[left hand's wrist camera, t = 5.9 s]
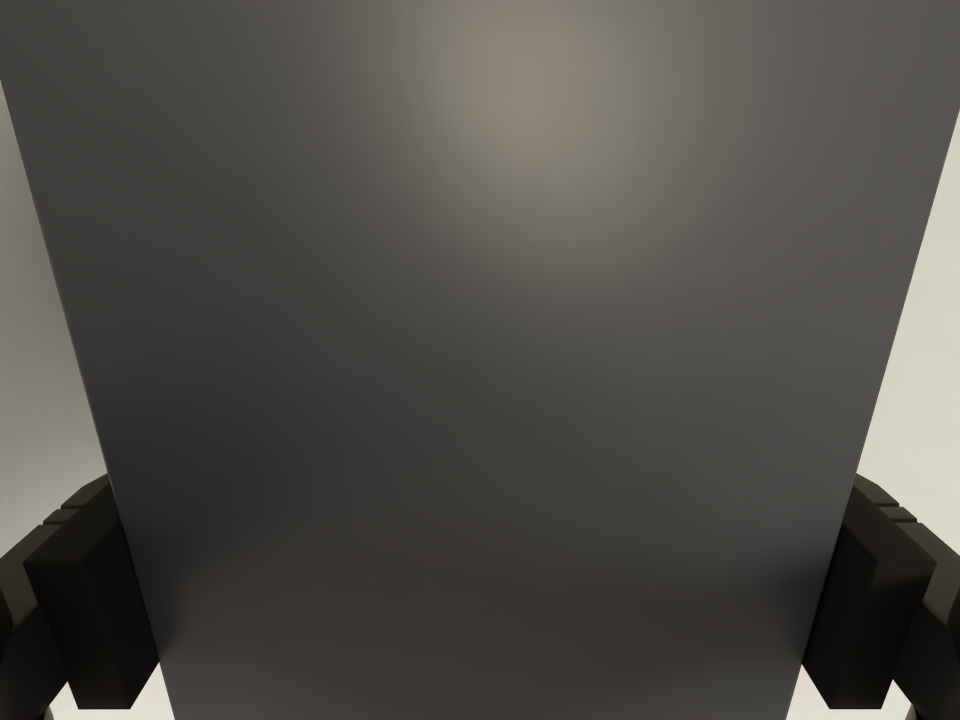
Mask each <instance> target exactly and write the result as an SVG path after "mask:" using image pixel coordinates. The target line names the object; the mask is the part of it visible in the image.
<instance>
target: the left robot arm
mask: <svg viewBox="0 0 960 720" xmlns="http://www.w3.org/2000/svg"><path fill="white" fill-rule="evenodd" d="M158 663H159V659H158V655H157V652H156V648H155V644H154V641H153V637H152V633H151V630H150V626H149V622H148V619H147V615H146V611H145V608H144V604H143V600H142V597H141V593H140V589H139V586H138V582H137V578H136V575H135V571H134V567H133V564H132V560H131V556H130V553H129V549H128V545H127V542H126V538H125V534H124V531H123V527H122V523H121V520H120V516H119V512H118V509H117V505H116V501H115V498H114V494H113V490H112V487H111V483H110V479H109V476H108V473H107V474H105V475H103V476H101V477H100V478H98V479H96V480H94V481H92V482H90V483H89V484H87V485H85V486H83V487H82V488H80V489H79V490H78V491H77V492H76V493H75V494H74V495H72V496H71V497H70V498H69V499H68V500H67V501H66V502H64V503H63V504H62V505H61V509H56V510H55V511H54V512H53V513H52V514H51V515H50V516H48V517H47V518H46V519H45V520H44V521H43V525H38V526H37V527H36V528H35V529H34V530H32V531H31V532H30V533H29V534H28V535H27V536H26V537H24V538H23V539H22V540H21V541H20V542H19V543H18V544H16V545H15V546H14V547H13V548H12V549H11V550H10V551H8V552H7V553H6V554H5V555H4V556H3V557H1V558H0V720H54V718H53V714H52V711H51V709H50V707H49V705H50V704H51V702H52V701H53V700H54V698H55V697H56V696H57V694H58V693H59V692H60V690H61V689H62V688H63V686H64V685H65V684H66V682H67V681H68V683H69V686H70V689H71V691H72V694H73V696H74V699H75V702H76V704H77V707H78V709H130V708H131V707H132V705H133V704H134V702H135V700H136V699H137V697H138V695H139V694H140V692H141V690H142V689H143V687H144V686H145V684H146V682H147V681H148V679H149V677H150V676H151V674H152V673H153V671H154V669H155V668H156V666H157V664H158ZM802 665H803V667H804V668H805V670H806V671H807V673H808V675H809V676H810V678H811V680H812V681H813V683H814V685H815V686H816V688H817V689H818V691H819V693H820V694H821V696H822V698H823V699H824V701H825V702H826V704H827V706H828V707H829V709H881V708H882V705H883V703H884V700H885V698H886V695H887V692H888V690H889V687H890V685H891V682H892V679H893V680H894V681H895V683H896V684H897V685H898V686H899V688H900V689H901V690H902V692H903V693H904V694H905V696H906V697H907V698H908V700H909V701H910V702H911V703H912V704H911V707H910V709H909V711H908V714H907V716H906V719H905V720H960V556H959V555H958V554H957V553H956V552H955V551H953V550H952V549H951V548H950V547H949V546H948V545H947V544H945V543H944V542H943V541H942V540H941V539H940V538H938V537H937V536H936V535H935V534H934V533H933V532H932V531H930V530H929V529H928V528H927V527H926V526H925V525H923V524H922V523H918V522H917V518H915V517H914V516H913V515H912V514H911V513H910V512H909V511H907V510H906V509H905V508H904V507H900V506H899V503H898V502H897V501H896V500H895V499H894V498H892V497H891V496H890V495H889V494H888V493H887V492H885V491H884V490H883V489H882V488H881V487H880V486H879V485H877V484H875V483H873V482H872V481H870V480H868V479H866V478H864V477H862V476H860V475H859V474H857V473H856V475H855V478H854V482H853V485H852V489H851V492H850V496H849V499H848V503H847V506H846V510H845V513H844V517H843V520H842V524H841V527H840V531H839V535H838V538H837V542H836V545H835V549H834V552H833V556H832V559H831V563H830V566H829V570H828V573H827V577H826V580H825V584H824V587H823V591H822V594H821V598H820V601H819V605H818V608H817V612H816V615H815V619H814V622H813V626H812V629H811V633H810V636H809V640H808V643H807V647H806V650H805V654H804V657H803V661H802Z"/></svg>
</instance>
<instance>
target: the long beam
mask: <svg viewBox="0 0 960 720" xmlns="http://www.w3.org/2000/svg"><path fill="white" fill-rule="evenodd" d="M0 79H1V83H2V87H3V90H4V94H5V98H6V101H7V105H8V109H9V112H10V116H11V120H12V123H13V127H14V131H15V134H16V138H17V142H18V145H19V149H20V153H21V156H22V160H23V164H24V167H25V171H26V175H27V178H28V182H29V186H30V189H31V193H32V197H33V200H34V204H35V208H36V211H37V215H38V219H39V222H40V226H41V230H42V233H43V237H44V241H45V244H46V248H47V252H48V255H49V259H50V263H51V266H52V270H53V274H54V277H55V281H56V285H57V288H58V292H59V296H60V299H61V303H62V307H63V310H64V314H65V318H66V321H67V325H68V329H69V332H70V336H71V340H72V343H73V347H74V351H75V354H76V358H77V362H78V365H79V369H80V373H81V376H82V380H83V384H84V388H85V391H86V395H87V399H88V402H89V406H90V410H91V413H92V417H93V421H94V424H95V428H96V432H97V435H98V439H99V443H100V446H101V450H102V454H103V457H104V461H105V465H106V468H107V472H108V476H109V479H110V483H111V487H112V490H113V494H114V498H115V501H116V505H117V509H118V512H119V516H120V520H121V523H122V527H123V531H124V534H125V538H126V542H127V545H128V549H129V553H130V556H131V560H132V564H133V567H134V571H135V575H136V578H137V582H138V586H139V589H140V593H141V597H142V600H143V604H144V608H145V611H146V615H147V619H148V622H149V626H150V630H151V633H152V637H153V641H154V644H155V648H156V652H157V655H158V659H159V663H160V666H161V670H162V674H163V677H164V681H165V685H166V689H167V692H168V696H169V700H170V703H171V707H172V711H173V714H174V718H175V720H786V717H787V713H788V710H789V706H790V703H791V699H792V696H793V692H794V689H795V685H796V682H797V678H798V675H799V671H800V668H801V664H802V661H803V657H804V654H805V650H806V647H807V643H808V640H809V636H810V633H811V629H812V626H813V622H814V619H815V615H816V612H817V608H818V605H819V601H820V598H821V594H822V591H823V587H824V584H825V580H826V577H827V573H828V570H829V566H830V563H831V559H832V556H833V552H834V549H835V545H836V542H837V538H838V535H839V531H840V527H841V524H842V520H843V517H844V513H845V510H846V506H847V503H848V499H849V496H850V492H851V489H852V485H853V482H854V478H855V475H856V471H857V468H858V464H859V461H860V457H861V454H862V450H863V447H864V443H865V440H866V436H867V433H868V429H869V426H870V422H871V419H872V415H873V412H874V408H875V405H876V401H877V398H878V394H879V391H880V387H881V384H882V380H883V377H884V373H885V370H886V366H887V363H888V359H889V356H890V352H891V349H892V345H893V341H894V338H895V334H896V331H897V327H898V324H899V320H900V317H901V313H902V310H903V306H904V303H905V299H906V296H907V292H908V289H909V285H910V282H911V278H912V275H913V271H914V268H915V264H916V261H917V257H918V254H919V250H920V247H921V243H922V240H923V236H924V233H925V229H926V226H927V222H928V219H929V215H930V212H931V208H932V205H933V201H934V198H935V194H936V191H937V187H938V184H939V180H940V177H941V173H942V170H943V166H944V163H945V159H946V155H947V152H948V148H949V145H950V141H951V138H952V134H953V131H954V127H955V124H956V120H957V117H958V113H959V110H960V0H0Z"/></svg>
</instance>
